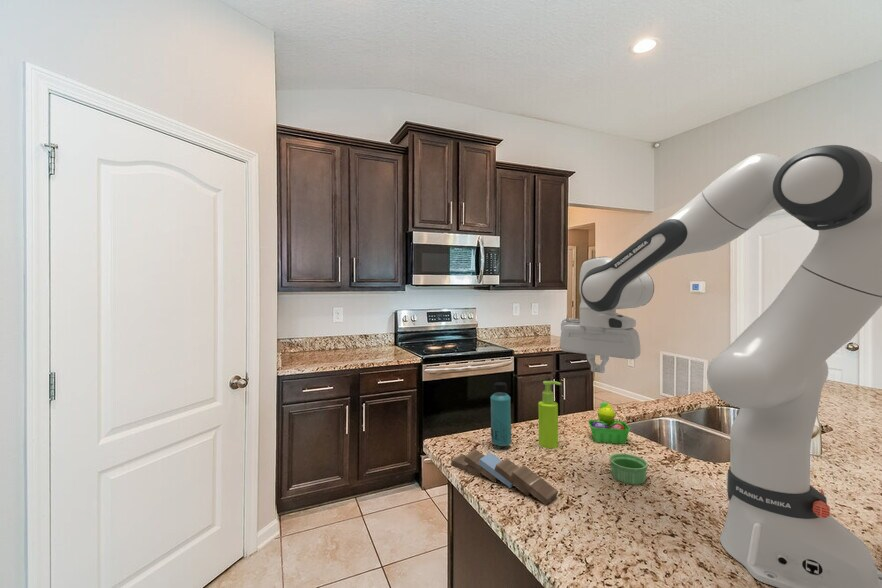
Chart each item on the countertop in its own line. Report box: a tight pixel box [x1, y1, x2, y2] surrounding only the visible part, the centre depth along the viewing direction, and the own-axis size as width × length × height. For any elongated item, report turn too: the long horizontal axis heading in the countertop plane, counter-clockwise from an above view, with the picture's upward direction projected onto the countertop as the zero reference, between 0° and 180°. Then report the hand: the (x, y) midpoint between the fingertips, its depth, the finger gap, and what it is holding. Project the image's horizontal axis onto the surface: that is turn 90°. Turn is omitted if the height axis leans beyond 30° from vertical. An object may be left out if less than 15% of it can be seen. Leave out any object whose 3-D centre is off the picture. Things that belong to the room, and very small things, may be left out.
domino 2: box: [464, 448, 499, 483], centre depth 102 cm, size 2×5×10 cm
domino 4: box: [495, 457, 532, 497], centre depth 96 cm, size 2×5×10 cm
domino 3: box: [479, 452, 515, 489], centre depth 99 cm, size 2×5×10 cm
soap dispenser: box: [538, 380, 562, 449], centre depth 120 cm, size 6×7×20 cm
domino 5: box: [511, 464, 559, 506], centre depth 92 cm, size 2×5×10 cm
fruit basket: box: [587, 401, 631, 445], centre depth 124 cm, size 11×9×11 cm
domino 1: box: [450, 453, 484, 477], centre depth 106 cm, size 2×5×10 cm
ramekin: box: [608, 453, 649, 485], centre depth 99 cm, size 9×9×4 cm
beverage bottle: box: [490, 381, 512, 447], centre depth 119 cm, size 6×7×20 cm
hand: (597, 371), depth 100 cm, fingers closed
